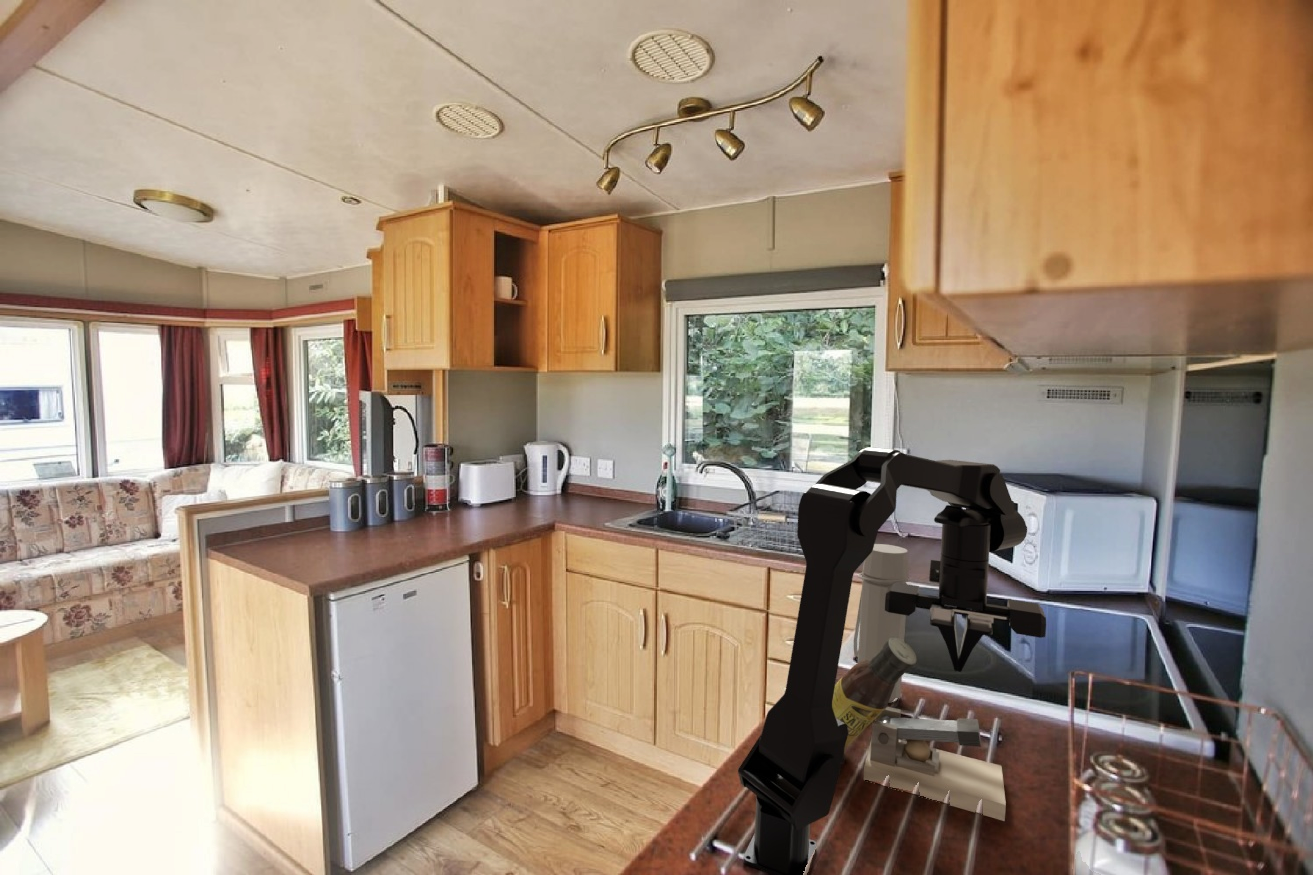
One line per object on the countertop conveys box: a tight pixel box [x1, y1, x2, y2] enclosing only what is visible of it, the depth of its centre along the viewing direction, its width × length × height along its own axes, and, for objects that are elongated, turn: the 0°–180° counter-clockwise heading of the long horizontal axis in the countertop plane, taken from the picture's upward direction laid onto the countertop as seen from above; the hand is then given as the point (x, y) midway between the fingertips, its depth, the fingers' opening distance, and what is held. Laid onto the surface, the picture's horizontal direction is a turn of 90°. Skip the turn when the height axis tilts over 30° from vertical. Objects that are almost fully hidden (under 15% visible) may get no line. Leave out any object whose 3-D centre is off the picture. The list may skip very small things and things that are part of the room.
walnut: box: [905, 739, 930, 762], centre depth 81 cm, size 3×3×3 cm
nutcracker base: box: [863, 706, 1007, 822], centre depth 81 cm, size 9×16×7 cm, turn 64°
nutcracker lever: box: [880, 716, 982, 748], centre depth 81 cm, size 4×12×2 cm, turn 64°
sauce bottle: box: [832, 638, 917, 751], centre depth 82 cm, size 7×6×20 cm
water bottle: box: [853, 543, 910, 704], centre depth 104 cm, size 9×8×25 cm
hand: (957, 670), depth 83 cm, fingers closed
